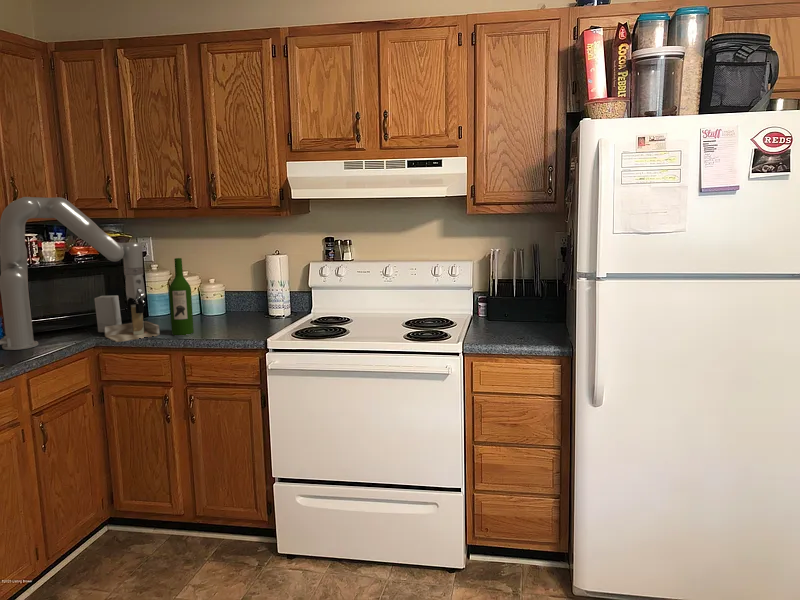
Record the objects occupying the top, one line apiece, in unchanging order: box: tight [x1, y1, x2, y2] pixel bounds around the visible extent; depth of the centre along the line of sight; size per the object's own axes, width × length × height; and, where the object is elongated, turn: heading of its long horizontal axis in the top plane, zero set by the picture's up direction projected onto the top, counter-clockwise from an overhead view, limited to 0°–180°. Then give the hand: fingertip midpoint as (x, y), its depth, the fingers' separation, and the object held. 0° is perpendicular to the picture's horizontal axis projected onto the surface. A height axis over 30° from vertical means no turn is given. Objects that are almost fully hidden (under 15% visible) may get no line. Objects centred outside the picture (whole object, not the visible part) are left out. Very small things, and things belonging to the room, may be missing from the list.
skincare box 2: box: [130, 303, 144, 335], centre depth 291 cm, size 6×4×12 cm
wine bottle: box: [168, 257, 195, 336], centre depth 291 cm, size 9×9×32 cm
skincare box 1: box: [94, 294, 123, 333], centre depth 300 cm, size 8×7×16 cm
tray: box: [104, 320, 161, 343], centre depth 289 cm, size 18×14×4 cm
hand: (135, 311), depth 290 cm, fingers open, 9 cm apart
